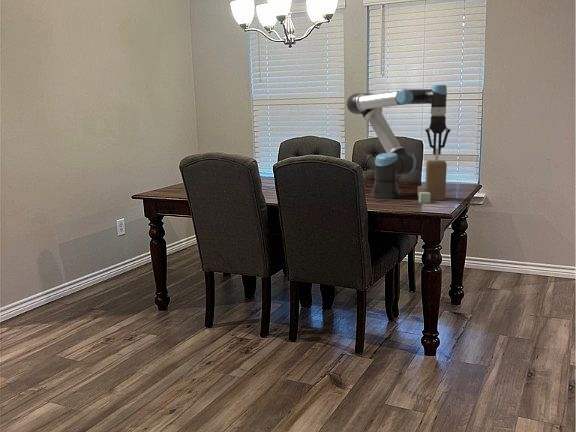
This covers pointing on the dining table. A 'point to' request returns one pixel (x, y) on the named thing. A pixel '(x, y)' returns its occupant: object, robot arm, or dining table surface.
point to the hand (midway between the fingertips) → (436, 161)
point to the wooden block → (436, 179)
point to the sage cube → (424, 197)
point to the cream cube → (420, 189)
